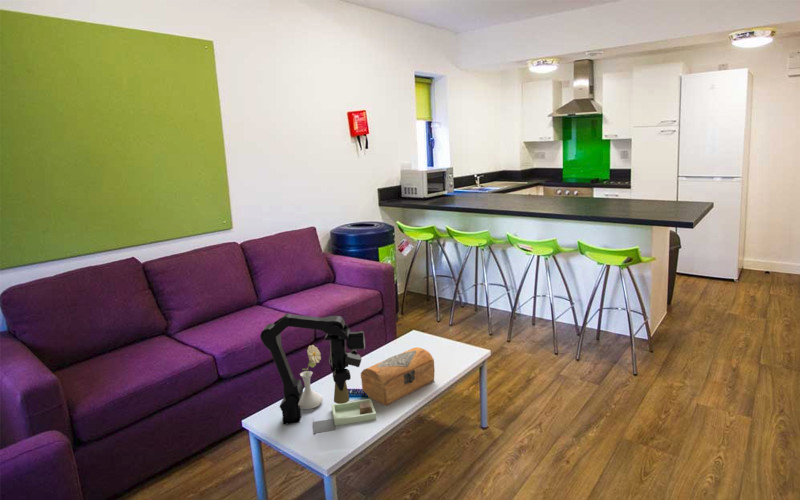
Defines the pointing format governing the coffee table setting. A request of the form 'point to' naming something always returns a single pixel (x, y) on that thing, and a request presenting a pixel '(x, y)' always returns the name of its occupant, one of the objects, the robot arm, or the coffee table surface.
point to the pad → (324, 426)
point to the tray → (351, 412)
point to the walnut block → (365, 408)
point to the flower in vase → (309, 396)
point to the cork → (341, 394)
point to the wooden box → (398, 375)
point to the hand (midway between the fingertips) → (340, 387)
